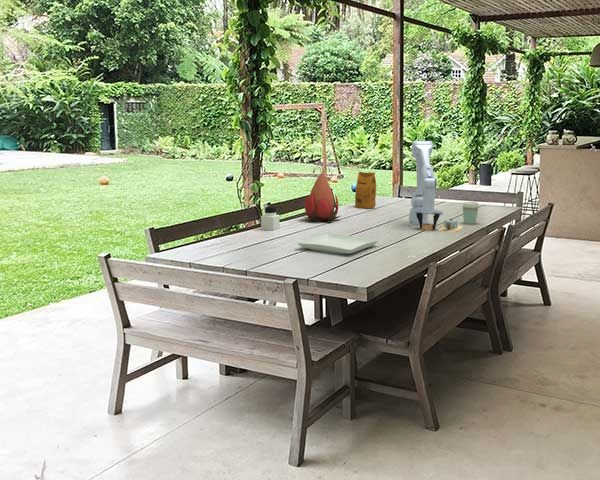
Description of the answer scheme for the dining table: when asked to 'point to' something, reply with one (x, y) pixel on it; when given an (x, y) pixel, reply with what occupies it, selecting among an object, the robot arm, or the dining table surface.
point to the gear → (451, 223)
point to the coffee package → (365, 191)
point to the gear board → (449, 228)
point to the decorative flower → (321, 201)
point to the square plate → (337, 243)
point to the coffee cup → (470, 212)
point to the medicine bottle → (270, 219)
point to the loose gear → (427, 226)
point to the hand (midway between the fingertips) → (427, 228)
